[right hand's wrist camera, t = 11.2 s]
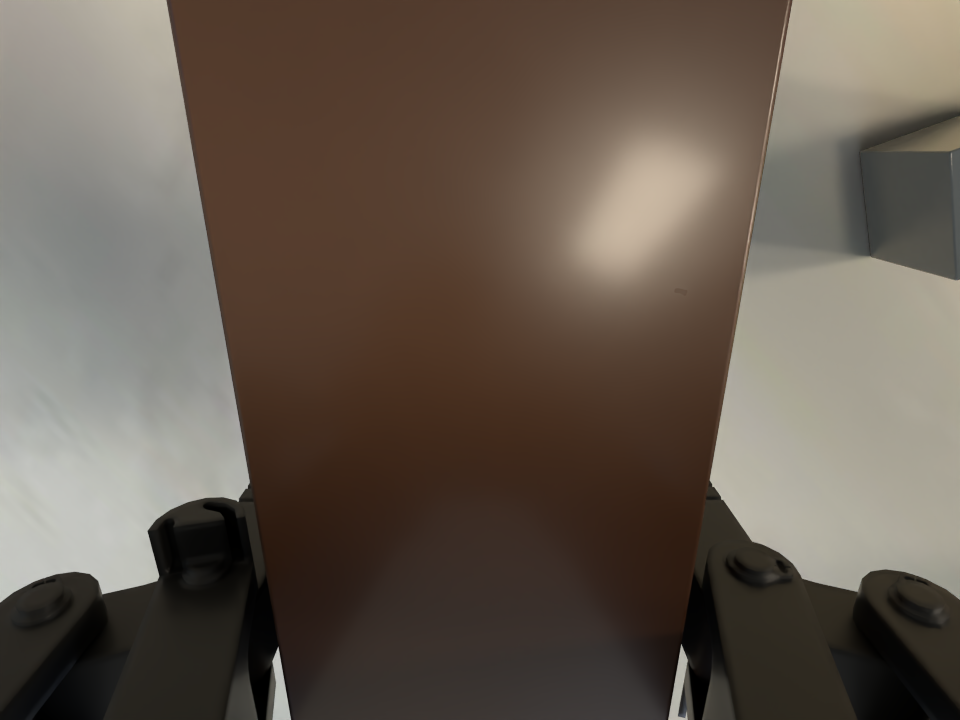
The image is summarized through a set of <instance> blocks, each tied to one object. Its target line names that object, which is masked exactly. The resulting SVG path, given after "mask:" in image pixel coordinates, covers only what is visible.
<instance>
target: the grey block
mask: <svg viewBox="0 0 960 720" xmlns="http://www.w3.org/2000/svg"><path fill="white" fill-rule="evenodd" d="M860 159H861V169H862V178H863V187H864V197H865V206H866V215H867V225H868V234H869V244H870V253H871V257H873V258H876V259H880V260H884V261H887V262H891V263H894V264H898V265H902V266H905V267H909V268H913V269H916V270H920V271H923V272H927V273H931V274H934V275H938V276H942V277H945V278H949V279H952V280H960V116H957V117H954V118H951V119H948V120H946V121H943V122H940V123H937V124H934V125H932V126H929V127H926V128H923V129H920V130H918V131H915V132H912V133H909V134H906V135H904V136H901V137H898V138H895V139H892V140H890V141H887V142H884V143H881V144H878V145H876V146H873V147H870V148H867V149H864V150H862V151H860Z"/></svg>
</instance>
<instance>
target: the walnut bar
mask: <svg viewBox="0 0 960 720" xmlns="http://www.w3.org/2000/svg"><path fill="white" fill-rule="evenodd" d="M167 5H168V11H169V17H170V23H171V29H172V34H173V40H174V46H175V52H176V57H177V63H178V69H179V75H180V80H181V86H182V92H183V98H184V104H185V109H186V115H187V121H188V127H189V132H190V138H191V144H192V150H193V156H194V161H195V167H196V173H197V179H198V184H199V190H200V196H201V202H202V208H203V213H204V219H205V225H206V231H207V236H208V242H209V248H210V254H211V259H212V265H213V271H214V277H215V283H216V288H217V294H218V300H219V306H220V311H221V317H222V323H223V329H224V335H225V340H226V346H227V352H228V358H229V363H230V369H231V375H232V381H233V386H234V392H235V398H236V404H237V410H238V415H239V421H240V427H241V433H242V438H243V444H244V450H245V456H246V462H247V467H248V473H249V479H250V485H251V490H252V496H253V502H254V508H255V513H256V519H257V525H258V531H259V537H260V542H261V548H262V554H263V560H264V565H265V571H266V577H267V583H268V589H269V594H270V600H271V606H272V612H273V617H274V623H275V629H276V635H277V640H278V646H279V652H280V658H281V664H282V669H283V675H284V681H285V687H286V692H287V698H288V704H289V710H290V716H291V720H668V717H669V712H670V706H671V700H672V694H673V688H674V683H675V677H676V671H677V665H678V659H679V654H680V648H681V642H682V636H683V630H684V625H685V619H686V613H687V607H688V602H689V596H690V590H691V584H692V578H693V573H694V567H695V561H696V555H697V549H698V544H699V538H700V532H701V526H702V520H703V515H704V509H705V503H706V497H707V492H708V486H709V480H710V474H711V468H712V463H713V457H714V451H715V445H716V439H717V434H718V428H719V422H720V416H721V410H722V405H723V399H724V393H725V387H726V382H727V376H728V370H729V364H730V358H731V353H732V347H733V341H734V335H735V329H736V324H737V318H738V312H739V306H740V300H741V295H742V289H743V283H744V277H745V272H746V266H747V260H748V254H749V248H750V243H751V237H752V231H753V225H754V219H755V214H756V208H757V202H758V196H759V191H760V185H761V179H762V173H763V167H764V162H765V156H766V150H767V144H768V138H769V133H770V127H771V121H772V115H773V109H774V104H775V98H776V92H777V86H778V81H779V75H780V69H781V63H782V57H783V52H784V46H785V40H786V34H787V28H788V23H789V17H790V11H791V5H792V0H167Z"/></svg>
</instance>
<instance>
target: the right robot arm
mask: <svg viewBox="0 0 960 720" xmlns="http://www.w3.org/2000/svg"><path fill="white" fill-rule="evenodd" d="M148 534H149V538H150V542H151V546H152V550H153V553H154V557H155V561H156V565H157V569H158V572H159V579H158V581H156V582H153V583H150V584H146V585H142V586H138V587H134V588H129V589H125V590H120V591H116V592H111V593H107V594H102V592H101V589H100V586H99V583H98V581H97V580H96V579H95V578H94V577H93V576H91V575H90V574H86V573H79V572H71V573H63V574H56V575H53V576H50V577H46V578H43V579H40V580H38V581H35V582H33V583H31V584H29V585H27V586H25V587H23V588H21V589H19V590H18V591H16V592H14V593H12V594H11V595H10V596H8V597H7V598H6V599H5V600H3V601H2V602H1V603H0V720H272V718H273V708H274V697H275V687H276V681H275V674H274V668H273V663H272V661H273V658H274V656H275V653H276V651H277V648H278V640H277V635H276V629H275V623H274V617H273V612H272V606H271V600H270V594H269V589H268V583H267V577H266V571H265V565H264V560H263V554H262V548H261V542H260V537H259V531H258V525H257V519H256V513H255V508H254V502H253V496H252V490H251V485H250V484H249V485H248V489H245V491H244V492H243V494H242V495H241V497H240V498H239V502H237V501H236V500H231V499H227V498H223V497H221V498H204V499H200V500H196V501H191V502H188V503H185V504H183V505H181V506H178V507H176V508H174V509H171V510H170V511H168V512H167V513H165V514H164V515H163V516H161V517H160V518H158V519H157V520H156V521H155V522H154V523H153V525H152V526H151V527H150V529H149V530H148ZM681 644H682V646H683V649H684V651H685V654H686V656H687V659H688V663H687V668H686V674H685V679H684V684H683V690H682V695H681V701H680V707H679V713H678V716H679V717H684V718H685V716H686V711H687V717H688V720H960V600H959V599H958V598H957V597H955V596H954V595H953V594H951V593H950V592H949V591H947V590H946V589H944V588H942V587H940V586H938V585H936V584H934V583H932V582H930V581H928V580H926V579H924V578H921V577H919V576H915V575H912V574H909V573H906V572H900V571H892V570H879V571H872V572H870V573H868V574H867V575H866V576H865V577H864V578H862V581H861V584H860V587H859V591H858V592H855V591H850V590H846V589H841V588H837V587H832V586H828V585H823V584H819V583H815V582H811V581H808V580H804V579H802V578H801V575H800V574H799V572H798V571H797V570H796V568H795V567H794V565H793V564H792V563H791V562H790V561H789V560H787V559H786V558H785V557H784V556H782V555H781V554H780V553H779V552H776V551H774V550H772V549H770V548H768V547H766V546H764V545H762V544H758V543H755V542H752V541H751V540H750V538H749V537H748V535H747V534H746V532H745V531H744V529H743V528H742V527H741V525H740V524H739V522H738V521H737V519H736V518H735V516H734V515H733V514H732V512H731V511H730V509H729V508H728V506H727V505H726V504H725V502H724V501H723V500H721V496H720V495H719V493H718V492H717V491H716V489H715V488H714V487H712V483H711V482H710V480H709V486H708V492H707V497H706V503H705V509H704V515H703V520H702V526H701V532H700V538H699V544H698V549H697V555H696V561H695V567H694V573H693V578H692V584H691V590H690V596H689V602H688V607H687V613H686V619H685V625H684V630H683V636H682V642H681Z"/></svg>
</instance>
